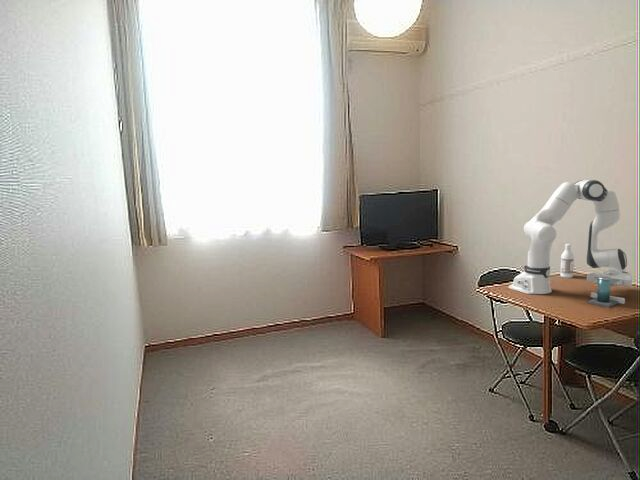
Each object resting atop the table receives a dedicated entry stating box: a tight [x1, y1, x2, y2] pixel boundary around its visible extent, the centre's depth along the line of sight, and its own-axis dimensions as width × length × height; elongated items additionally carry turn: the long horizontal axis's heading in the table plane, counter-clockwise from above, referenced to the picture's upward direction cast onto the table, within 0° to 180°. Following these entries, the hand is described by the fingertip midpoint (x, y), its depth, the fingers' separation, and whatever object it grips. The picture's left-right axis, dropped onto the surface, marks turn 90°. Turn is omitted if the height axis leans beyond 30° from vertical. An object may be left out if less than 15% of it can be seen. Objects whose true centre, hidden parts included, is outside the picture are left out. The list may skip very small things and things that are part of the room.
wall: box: [590, 291, 626, 305], centre depth 250 cm, size 16×1×2 cm, turn 35°
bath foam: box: [560, 243, 575, 279], centre depth 297 cm, size 7×7×20 cm
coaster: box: [587, 297, 619, 308], centre depth 246 cm, size 10×10×1 cm
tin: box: [596, 276, 611, 303], centre depth 244 cm, size 6×6×12 cm
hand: (606, 282), depth 247 cm, fingers open, 8 cm apart
